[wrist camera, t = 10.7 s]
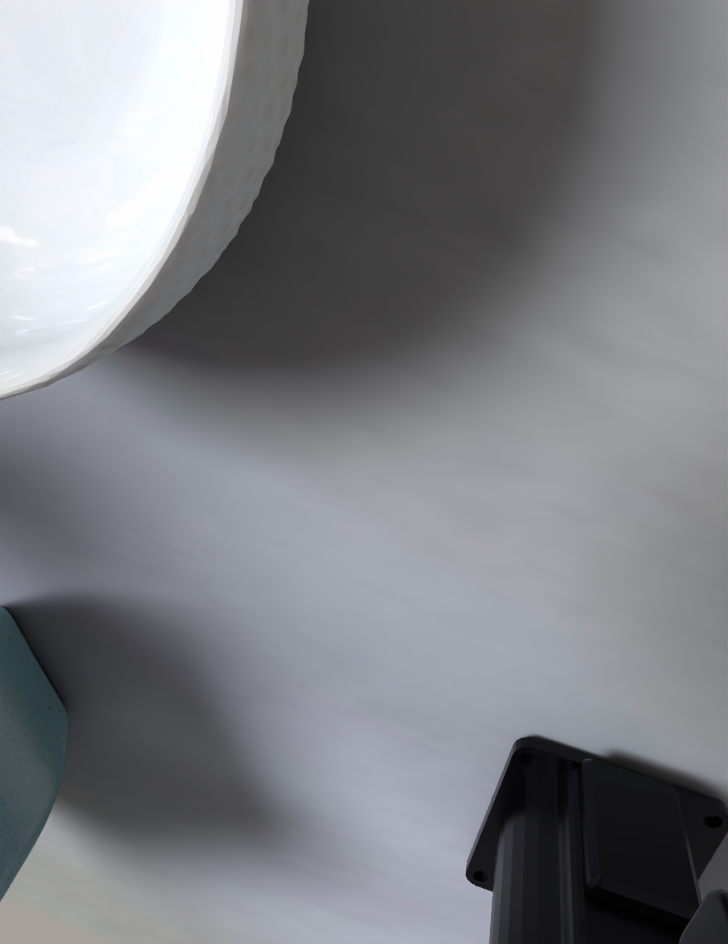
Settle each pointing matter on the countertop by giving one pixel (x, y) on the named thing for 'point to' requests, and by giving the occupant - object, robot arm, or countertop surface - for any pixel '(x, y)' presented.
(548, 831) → the robot arm
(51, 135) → the cereal bowl
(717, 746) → the countertop surface
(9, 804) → the flower pot
